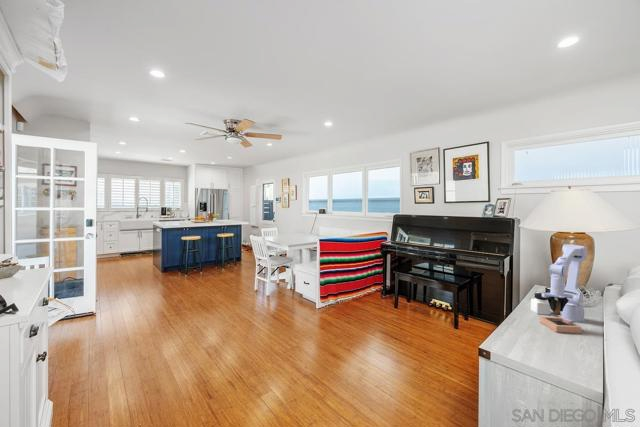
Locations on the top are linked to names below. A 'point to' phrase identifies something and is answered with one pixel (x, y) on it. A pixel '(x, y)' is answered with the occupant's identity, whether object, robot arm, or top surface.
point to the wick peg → (557, 308)
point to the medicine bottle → (540, 304)
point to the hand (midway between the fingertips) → (556, 310)
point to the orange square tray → (560, 325)
